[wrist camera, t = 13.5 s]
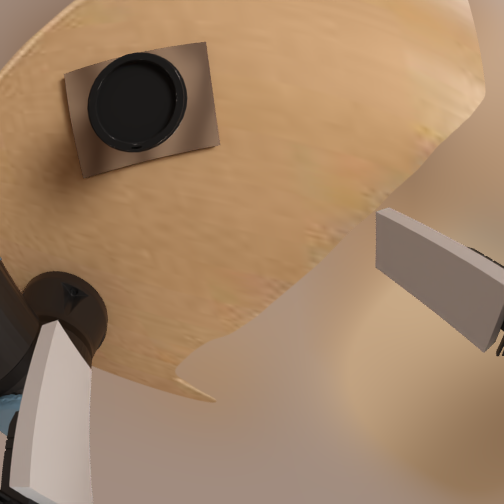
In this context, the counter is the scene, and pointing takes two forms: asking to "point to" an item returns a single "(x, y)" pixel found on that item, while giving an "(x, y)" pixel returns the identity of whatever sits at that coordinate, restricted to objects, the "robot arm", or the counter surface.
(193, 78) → the board
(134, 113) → the coffee cup
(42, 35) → the counter surface
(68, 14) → the counter surface
